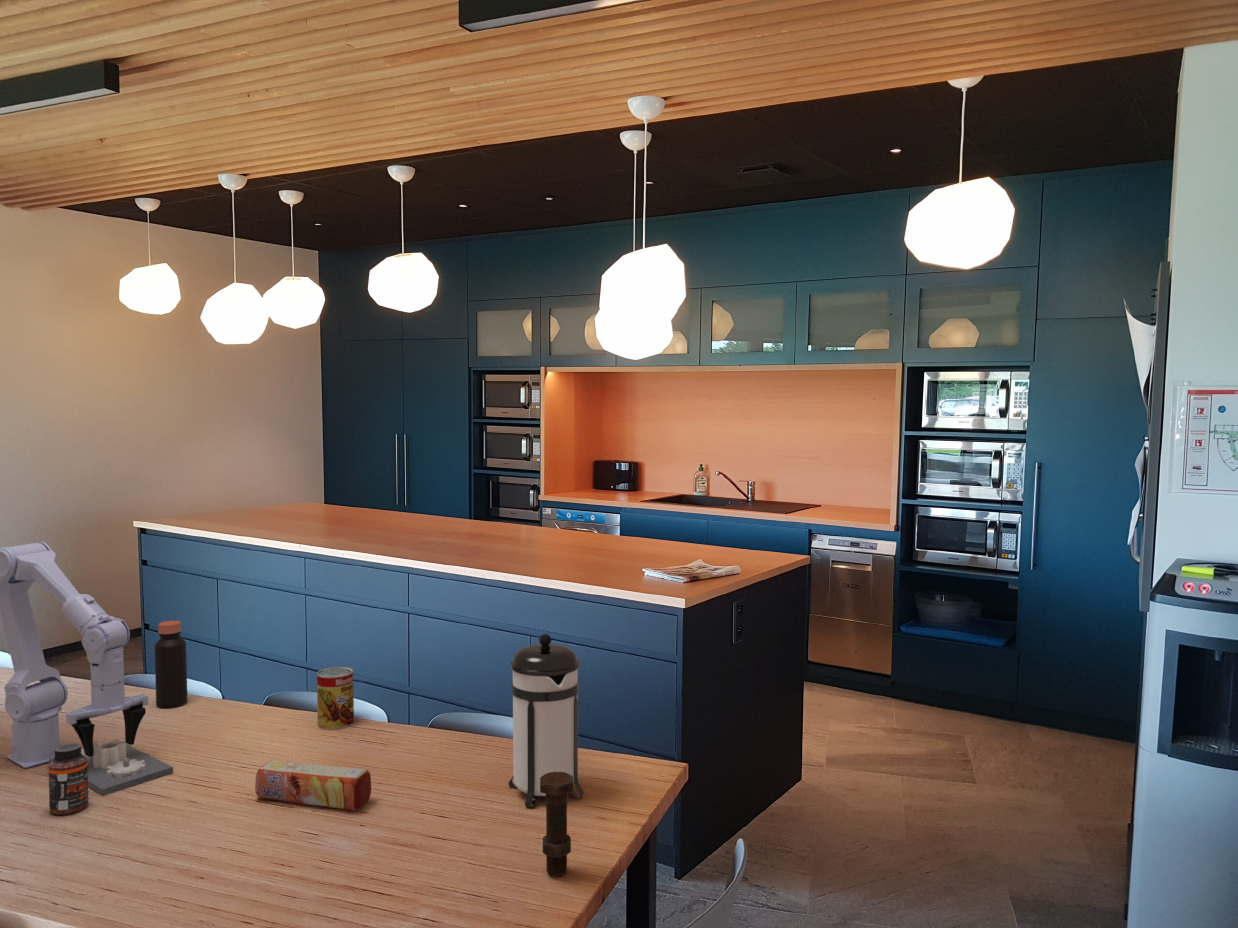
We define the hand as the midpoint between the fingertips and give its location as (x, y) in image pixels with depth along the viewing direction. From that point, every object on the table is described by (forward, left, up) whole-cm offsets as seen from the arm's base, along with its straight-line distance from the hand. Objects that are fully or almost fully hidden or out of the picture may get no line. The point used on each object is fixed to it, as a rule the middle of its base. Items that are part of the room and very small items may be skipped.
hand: (109, 749), depth 175 cm
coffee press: (+75, +44, -4) cm, 87 cm away
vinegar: (-29, +26, -4) cm, 39 cm away
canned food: (+14, +42, -4) cm, 45 cm away
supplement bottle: (+13, -12, -4) cm, 18 cm away
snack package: (+45, +16, -4) cm, 48 cm away
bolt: (+97, +24, -4) cm, 100 cm away
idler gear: (0, 0, -3) cm, 3 cm away
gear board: (0, 0, -4) cm, 4 cm away
